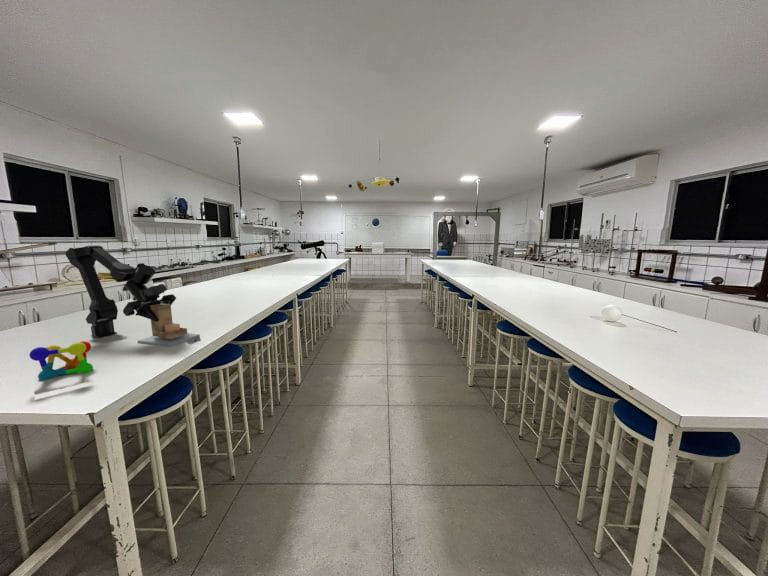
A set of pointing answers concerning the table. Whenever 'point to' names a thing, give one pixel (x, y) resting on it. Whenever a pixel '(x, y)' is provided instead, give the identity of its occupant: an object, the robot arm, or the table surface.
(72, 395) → the table surface
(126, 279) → the robot arm
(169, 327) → the block
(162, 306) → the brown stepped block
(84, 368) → the molecular model
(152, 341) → the plate
